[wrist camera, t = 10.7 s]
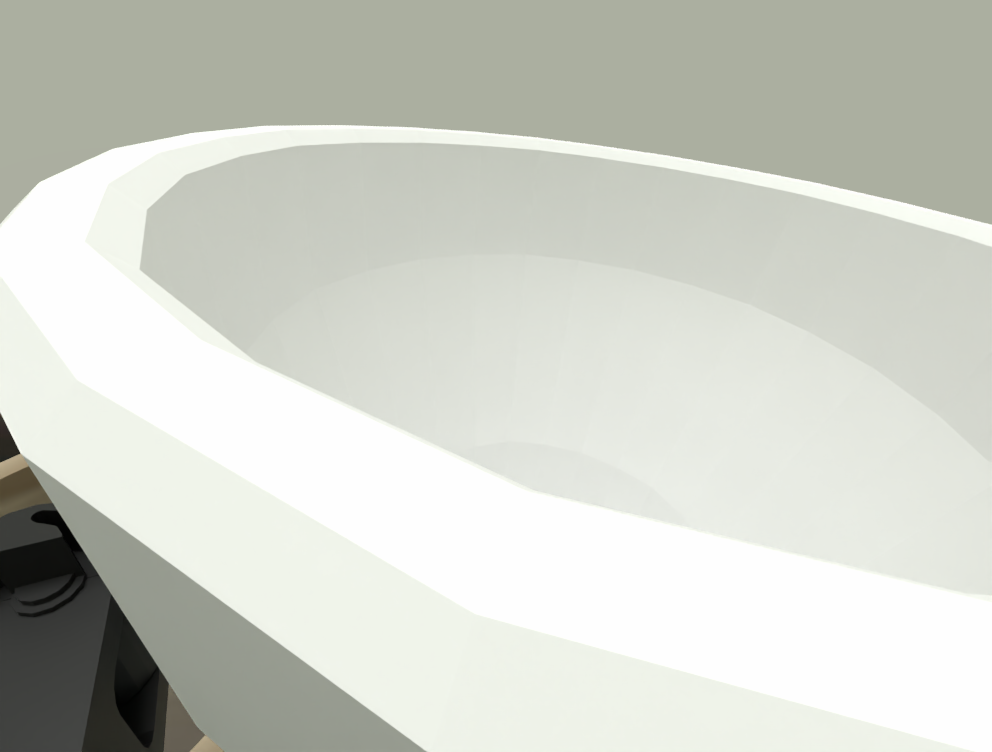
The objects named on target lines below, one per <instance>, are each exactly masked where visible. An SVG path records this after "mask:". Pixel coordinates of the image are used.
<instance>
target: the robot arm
mask: <svg viewBox="0 0 992 752" xmlns="http://www.w3.org/2000/svg"><path fill="white" fill-rule="evenodd" d="M168 684H169V683H168V681H167V680H166V678H165V676H164V675H163V673H162V672H161V670H160V669H159V667H158V666H157V664H156V663H155V661H154V659H153V658H152V656H151V655H150V653H149V652H148V650H147V649H146V647H145V645H144V644H143V642H142V641H141V639H140V638H139V636H138V635H137V633H136V631H135V630H134V628H133V627H132V625H131V624H130V622H129V621H128V619H127V618H126V616H125V614H124V613H123V611H122V610H121V608H120V607H119V605H118V604H117V602H116V600H115V599H114V597H113V596H112V594H111V593H110V591H109V590H108V588H107V586H106V585H105V583H104V582H103V580H102V579H101V577H100V576H99V574H98V573H97V571H96V569H95V568H94V566H93V565H92V563H91V562H90V560H89V559H88V557H87V555H86V554H85V552H84V551H83V549H82V548H81V546H80V545H79V543H78V541H77V540H76V538H75V537H74V535H73V534H72V532H71V531H70V529H69V528H68V526H67V524H66V523H65V521H64V520H63V518H62V517H61V515H60V514H59V512H58V510H57V509H56V507H55V506H54V504H53V503H47V504H38V505H34V506H31V507H27V508H24V509H21V510H18V511H14V512H11V513H8V514H6V515H4V516H2V517H0V752H163V751H164V738H165V724H166V711H167V697H168Z"/></svg>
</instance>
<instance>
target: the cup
mask: <svg viewBox="0 0 992 752" xmlns="http://www.w3.org/2000/svg"><path fill="white" fill-rule="evenodd" d="M0 413H1V415H2V417H3V419H4V421H5V423H6V425H7V427H8V429H9V431H10V433H11V435H12V437H13V439H14V441H15V443H16V445H17V447H18V449H19V451H20V453H21V455H22V456H23V458H24V459H25V461H26V462H27V464H28V465H29V467H30V469H31V470H32V472H33V473H34V475H35V476H36V478H37V479H38V481H39V483H40V484H41V486H42V487H43V489H44V490H45V492H46V493H47V495H48V496H49V498H50V500H51V501H52V503H53V504H54V506H55V507H56V509H57V510H58V512H59V514H60V515H61V517H62V518H63V520H64V521H65V523H66V524H67V526H68V528H69V529H70V531H71V532H72V534H73V535H74V537H75V538H76V540H77V541H78V543H79V545H80V546H81V548H82V549H83V551H84V552H85V554H86V555H87V557H88V559H89V560H90V562H91V563H92V565H93V566H94V568H95V569H96V571H97V573H98V574H99V576H100V577H101V579H102V580H103V582H104V583H105V585H106V586H107V588H108V590H109V591H110V593H111V594H112V596H113V597H114V599H115V600H116V602H117V604H118V605H119V607H120V608H121V610H122V611H123V613H124V614H125V616H126V618H127V619H128V621H129V622H130V624H131V625H132V627H133V628H134V630H135V631H136V633H137V635H138V636H139V638H140V639H141V641H142V642H143V644H144V645H145V647H146V649H147V650H148V652H149V653H150V655H151V656H152V658H153V659H154V661H155V663H156V664H157V666H158V667H159V669H160V670H161V672H162V673H163V675H164V676H165V678H166V680H167V681H168V683H169V684H170V686H171V687H172V689H173V690H174V692H175V694H176V695H177V697H178V698H179V700H180V701H181V703H182V704H183V706H184V707H185V709H186V711H187V712H188V714H189V715H190V717H191V718H192V720H193V721H194V723H195V725H196V726H197V727H198V728H199V729H200V730H201V731H202V732H203V733H204V734H205V735H207V736H208V737H209V738H210V739H211V740H212V741H213V742H214V743H215V744H217V745H218V746H219V747H220V748H221V749H222V750H223V751H224V752H992V225H990V224H986V223H982V222H978V221H974V220H970V219H966V218H962V217H958V216H954V215H950V214H946V213H942V212H938V211H934V210H930V209H926V208H922V207H918V206H914V205H910V204H906V203H902V202H898V201H894V200H889V199H885V198H880V197H876V196H872V195H867V194H862V193H858V192H854V191H849V190H845V189H841V188H836V187H832V186H827V185H823V184H818V183H814V182H809V181H803V180H798V179H792V178H788V177H783V176H777V175H772V174H767V173H762V172H757V171H751V170H746V169H741V168H736V167H730V166H724V165H718V164H712V163H707V162H701V161H695V160H689V159H684V158H677V157H671V156H665V155H659V154H653V153H646V152H639V151H632V150H625V149H619V148H612V147H605V146H598V145H591V144H583V143H574V142H567V141H559V140H551V139H543V138H536V137H524V136H514V135H503V134H492V133H480V132H470V131H455V130H440V129H425V128H410V127H380V126H379V127H378V126H344V125H328V126H327V125H324V126H323V125H321V126H318V125H317V126H260V127H250V128H239V129H230V130H219V131H210V132H200V133H191V134H186V135H181V136H176V137H170V138H165V139H160V140H156V141H150V142H146V143H141V144H135V145H130V146H125V147H120V148H115V149H111V150H109V151H107V152H105V153H103V154H100V155H98V156H96V157H94V158H92V159H90V160H87V161H85V162H83V163H81V164H79V165H76V166H74V167H72V168H70V169H68V170H65V171H63V172H61V173H59V174H57V175H54V176H52V177H50V178H48V179H46V180H43V181H41V182H39V183H38V184H37V185H36V186H35V188H33V190H32V191H31V192H30V193H29V194H28V195H27V196H26V197H25V198H24V199H23V200H22V201H21V202H20V203H19V204H18V205H17V206H16V207H15V208H14V209H13V210H12V211H11V213H10V214H9V215H8V216H7V217H6V218H5V219H4V221H3V222H2V223H1V224H0Z"/></svg>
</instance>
